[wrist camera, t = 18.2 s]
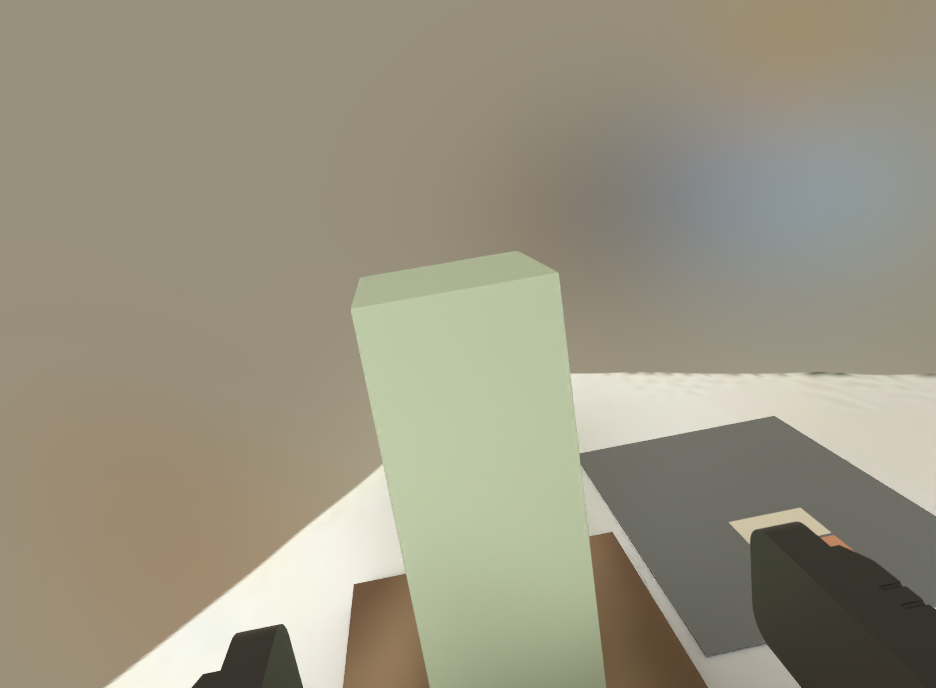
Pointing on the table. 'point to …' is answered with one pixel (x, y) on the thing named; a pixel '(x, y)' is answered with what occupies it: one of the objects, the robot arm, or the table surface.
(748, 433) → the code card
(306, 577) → the table surface
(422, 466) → the sage block
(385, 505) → the table surface
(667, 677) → the walnut pad
